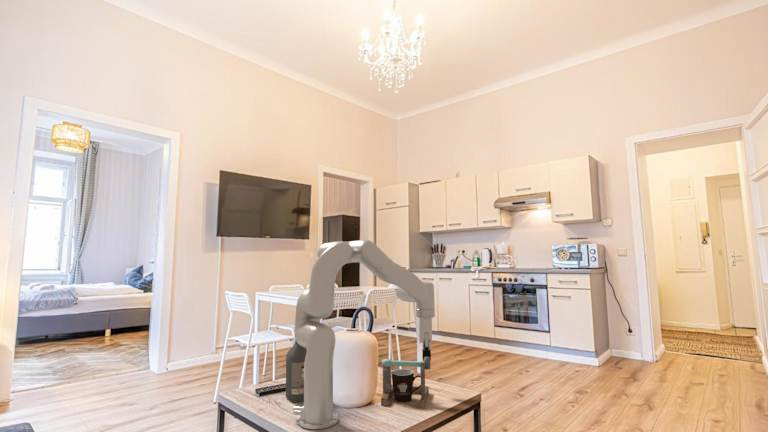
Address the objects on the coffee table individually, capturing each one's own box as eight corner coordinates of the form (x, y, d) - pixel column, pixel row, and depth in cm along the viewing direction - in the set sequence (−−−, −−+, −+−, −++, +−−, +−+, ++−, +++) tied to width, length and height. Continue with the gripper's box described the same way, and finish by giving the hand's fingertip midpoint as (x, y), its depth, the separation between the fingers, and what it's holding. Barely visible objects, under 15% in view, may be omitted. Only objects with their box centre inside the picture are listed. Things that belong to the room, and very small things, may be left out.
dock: (379, 405, 143) (378, 364, 144) (389, 390, 158) (388, 353, 160) (423, 408, 139) (422, 366, 141) (429, 393, 155) (428, 355, 156)
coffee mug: (387, 401, 146) (387, 373, 148) (397, 394, 154) (397, 368, 155) (416, 406, 141) (415, 377, 142) (425, 398, 149) (424, 371, 150)
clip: (381, 368, 149) (381, 357, 150) (383, 365, 153) (382, 354, 153) (430, 370, 145) (429, 358, 146) (430, 367, 149) (430, 356, 149)
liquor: (283, 397, 153) (284, 318, 156) (305, 392, 158) (305, 316, 161) (293, 404, 145) (294, 321, 149) (315, 398, 151) (316, 318, 154)
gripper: (415, 310, 166) (416, 355, 164) (416, 315, 151) (417, 365, 149) (433, 310, 166) (435, 355, 164) (436, 315, 151) (437, 365, 149)
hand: (426, 360), depth 156 cm, fingers closed
